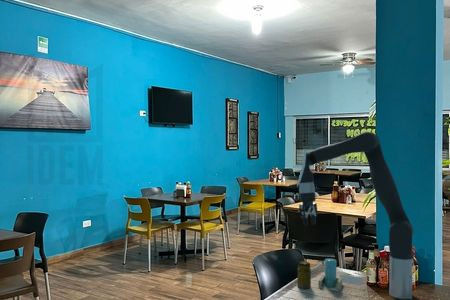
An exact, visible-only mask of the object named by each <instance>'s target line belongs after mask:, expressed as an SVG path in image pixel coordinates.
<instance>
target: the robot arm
mask: <svg viewBox="0 0 450 300" xmlns="http://www.w3.org/2000/svg"><path fill="white" fill-rule="evenodd" d="M355 153H363V154H364V155H365V157H366V160H367V163H368V167H369V174H370V180H371V184H372V186H373V190H374V192H375V194H376V196H377V198H378V200H379V201H380V203H381V205H382V206H383V209H384V210H385V211H386V214H387V217H388V220H389V223H390V227H389V230H388V231H389V232H388V249H389V287H388V289H389V290H388V293H389V296H390V297H393V298H395V299H400V300H412V299H413V234H414V227H413V225H412V223H411V221H410V220H409V217H408V215H407V213H406V212H405V209H404V207H403V204H402V200H401V196H400V193H399V191H398V188H397V185H396V182H395V179H394V177H393V175H392V173H391V170H390V168H389V166H388V164H387V162H386V159H385V157H384V154H383V150H382V145H381V142H380V139H379V137H378V136H377V134H375V133H374V132H372V131H364V132H361V133H359V134H357V135H354V136H353V137H351V138H348V139H346V140H343V141H340V142H336V143H331V144H327V145H324V146H321V147H317V148H315V149H314V150H311V151H308V152H307V151H305V159H304V166H303V170H302V173H301V176H300V180H299V182H298V187H299V188H298V192H299V201H300V203H301V204H299V205H298V209H299V211H298V212H299V217H300V218H302V225H303V227H307V226H308V224H309V222H308V216H309V215H310V223H311V225H312V226H314V225H316V224H317V220H316V219H317V218H316V217H317V216H318V215H319V213H318V206H317V205H318V204H317V203H316V190H315V189H316V187H315V184H314V182H315V181H314V173H313V171H312V170H311V168H310V167H311V166H314V165H316V164H319V163H322V162H326V161H331V160H333V159H334V160H335V159H337V158H339V157H341V156H344V155H349V154H355ZM314 202H315V203H314Z"/></svg>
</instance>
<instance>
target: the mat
mask: <svg viewBox="0 0 450 300" xmlns="http://www.w3.org/2000/svg"><path fill="white" fill-rule="evenodd" d="M338 277H340V278H342V283H343V284H344V283H346V284H353V285H358V286H359V285H360V286H361V284H362V282H363V280H364V279H363V278H364V277H362V276H361V277H360V276H354V275H347V274H339V276H338Z"/></svg>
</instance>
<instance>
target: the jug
mask: <svg viewBox="0 0 450 300" xmlns="http://www.w3.org/2000/svg"><path fill="white" fill-rule="evenodd" d="M324 275H325V286H326V287H329V288H334V287H336V277H337V259H334V258H325V259H324Z"/></svg>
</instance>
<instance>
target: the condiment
mask: <svg viewBox="0 0 450 300" xmlns="http://www.w3.org/2000/svg"><path fill="white" fill-rule="evenodd" d="M311 276H312V270H311V263H310V262H309V261H305V260H304V261H302V260H301V261H299V262H298V267H297V288H298V289H300V290H310V289H311V288H312V283H311V282H312V281H311V280H312V277H311Z"/></svg>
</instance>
